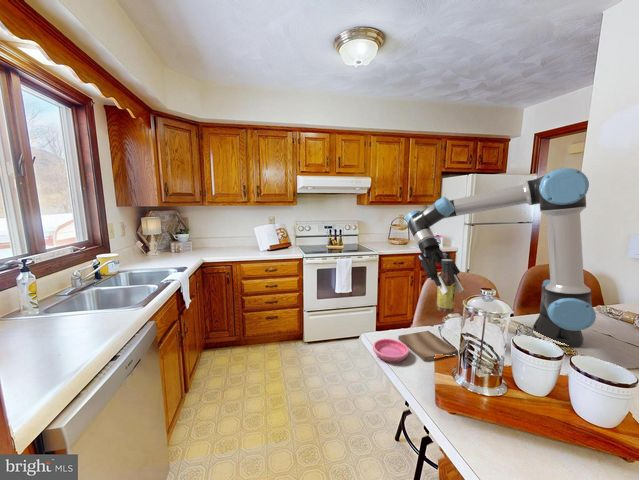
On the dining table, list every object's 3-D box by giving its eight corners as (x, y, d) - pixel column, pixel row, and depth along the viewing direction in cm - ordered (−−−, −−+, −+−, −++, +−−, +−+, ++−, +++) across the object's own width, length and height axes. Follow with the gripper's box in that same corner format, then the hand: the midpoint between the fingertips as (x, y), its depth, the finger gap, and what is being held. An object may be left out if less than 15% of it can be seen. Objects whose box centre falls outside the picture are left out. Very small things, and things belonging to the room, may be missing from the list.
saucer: (398, 344, 104) (398, 336, 104) (415, 362, 92) (415, 354, 92) (367, 348, 102) (367, 340, 101) (381, 367, 90) (381, 358, 89)
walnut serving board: (428, 334, 112) (428, 330, 111) (457, 354, 96) (458, 350, 96) (398, 339, 108) (398, 335, 108) (424, 361, 93) (424, 357, 92)
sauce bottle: (456, 314, 101) (459, 262, 98) (438, 313, 102) (440, 261, 99) (451, 307, 107) (454, 258, 104) (434, 306, 108) (437, 257, 105)
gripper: (441, 246, 118) (468, 294, 105) (402, 248, 113) (426, 299, 100) (450, 235, 113) (480, 285, 99) (410, 237, 108) (436, 290, 94)
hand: (453, 292), depth 100 cm, fingers closed on sauce bottle, 6 cm apart
